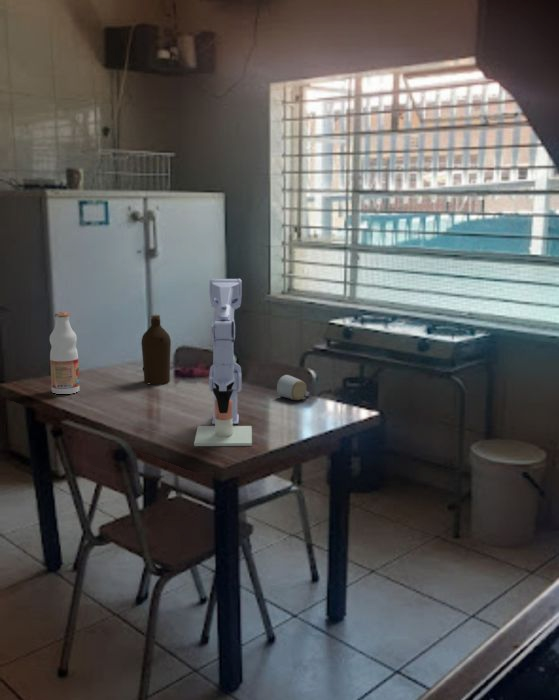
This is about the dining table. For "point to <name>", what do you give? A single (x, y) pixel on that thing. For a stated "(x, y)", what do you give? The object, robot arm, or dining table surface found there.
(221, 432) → the off-white rounded cylinder
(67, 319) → the fruit juice
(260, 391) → the dining table surface
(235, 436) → the baseplate
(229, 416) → the pink rounded piece
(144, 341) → the olive oil
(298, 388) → the ceramic mug
